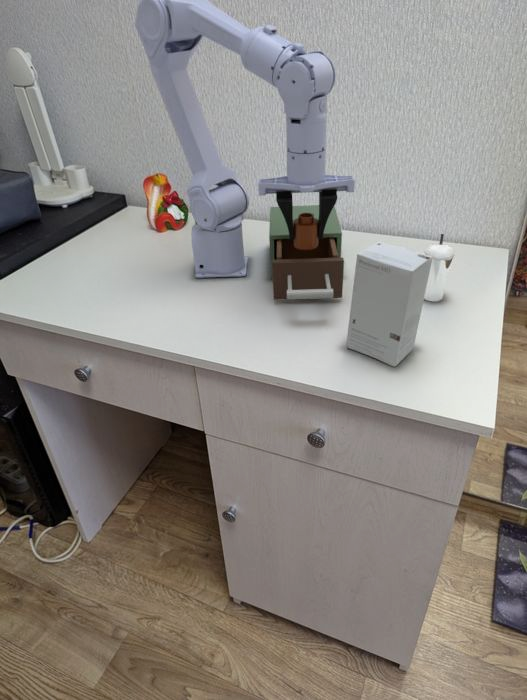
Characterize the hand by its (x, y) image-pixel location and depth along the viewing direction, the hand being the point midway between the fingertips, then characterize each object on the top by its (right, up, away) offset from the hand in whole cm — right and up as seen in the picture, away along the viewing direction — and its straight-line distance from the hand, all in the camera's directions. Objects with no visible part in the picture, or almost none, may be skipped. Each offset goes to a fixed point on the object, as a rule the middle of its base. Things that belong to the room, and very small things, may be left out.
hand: (305, 236), depth 80 cm
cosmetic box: (+10, -18, -9) cm, 23 cm away
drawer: (+1, -8, +5) cm, 9 cm away
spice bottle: (0, -1, +1) cm, 1 cm away
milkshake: (+22, -9, +3) cm, 24 cm away
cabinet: (+1, -1, +16) cm, 16 cm away
